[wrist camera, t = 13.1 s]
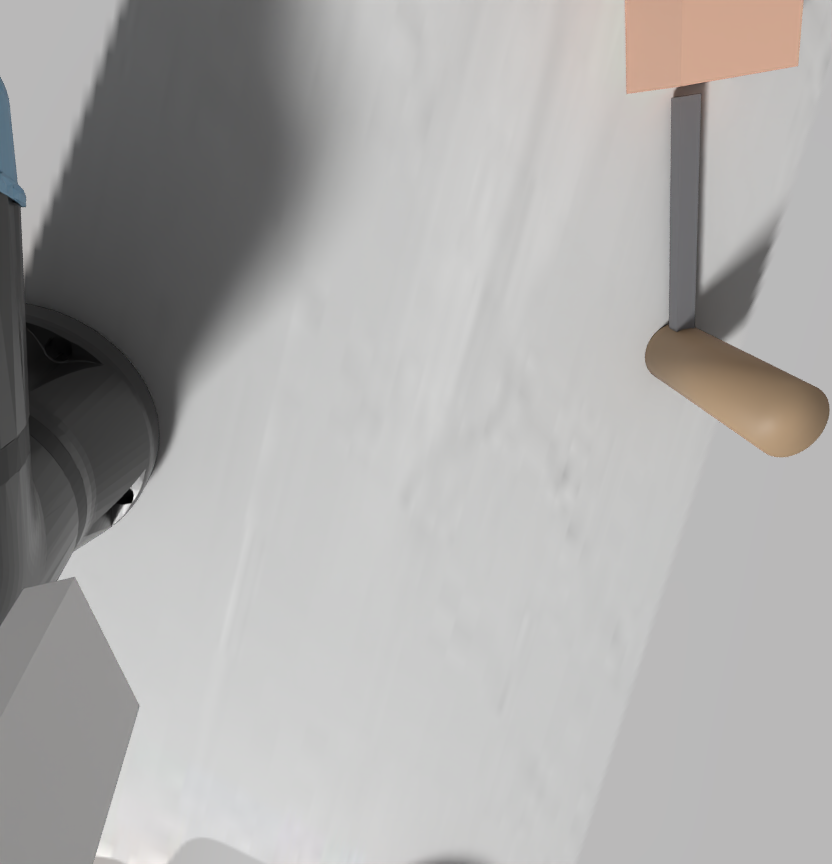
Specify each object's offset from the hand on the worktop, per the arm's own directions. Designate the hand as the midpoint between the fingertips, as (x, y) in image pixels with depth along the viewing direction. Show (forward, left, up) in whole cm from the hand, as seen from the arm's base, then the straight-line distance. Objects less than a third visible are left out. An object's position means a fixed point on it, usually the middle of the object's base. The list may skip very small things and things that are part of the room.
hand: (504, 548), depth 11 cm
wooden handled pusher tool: (+19, -1, -31) cm, 36 cm away
